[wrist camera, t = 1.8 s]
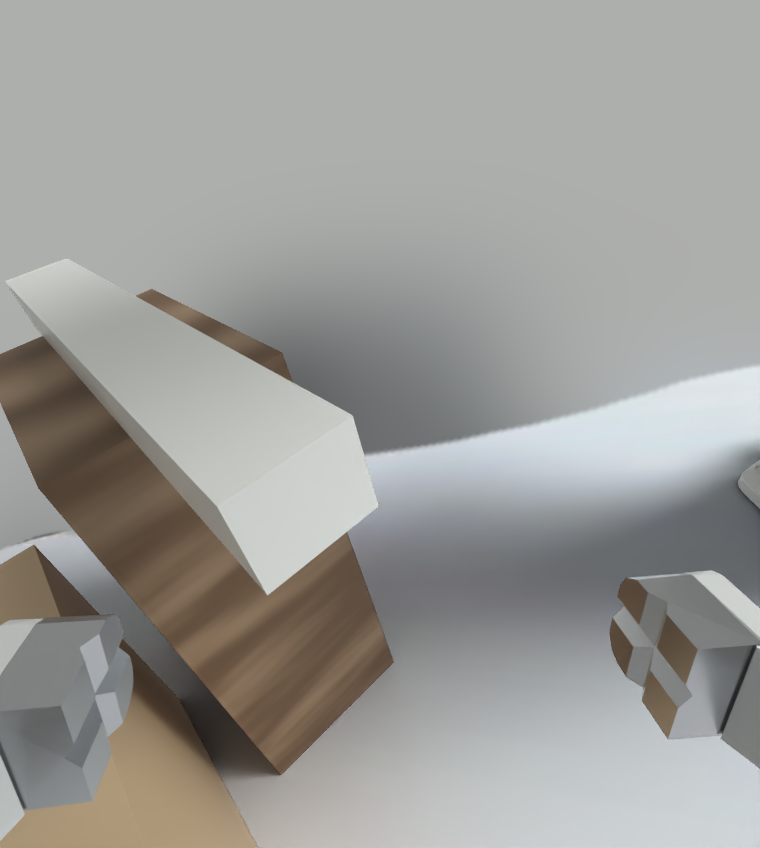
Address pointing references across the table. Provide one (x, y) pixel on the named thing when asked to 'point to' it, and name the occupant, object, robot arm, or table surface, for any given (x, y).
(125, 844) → the carton
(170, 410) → the bar
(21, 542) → the table surface
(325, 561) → the pedestal
